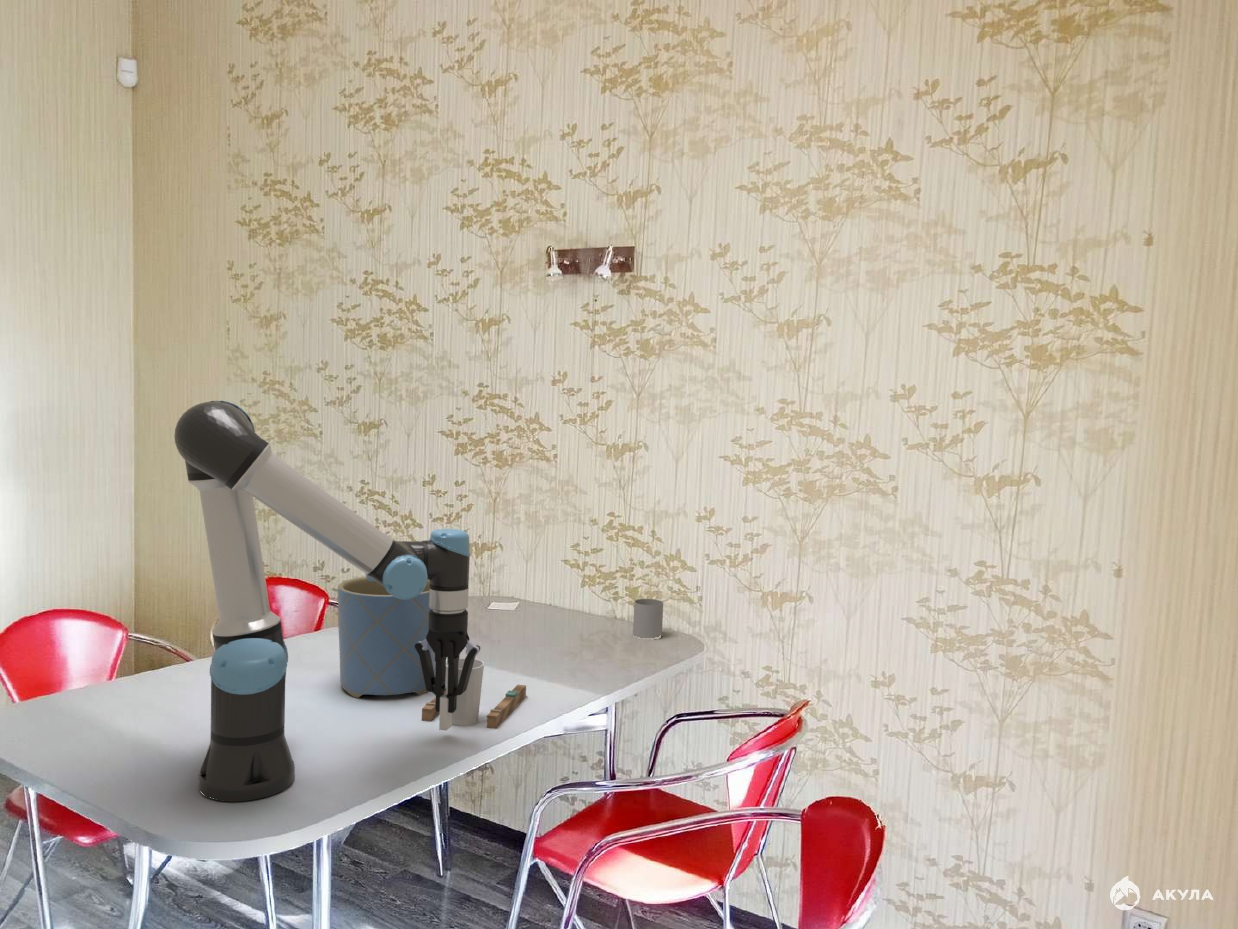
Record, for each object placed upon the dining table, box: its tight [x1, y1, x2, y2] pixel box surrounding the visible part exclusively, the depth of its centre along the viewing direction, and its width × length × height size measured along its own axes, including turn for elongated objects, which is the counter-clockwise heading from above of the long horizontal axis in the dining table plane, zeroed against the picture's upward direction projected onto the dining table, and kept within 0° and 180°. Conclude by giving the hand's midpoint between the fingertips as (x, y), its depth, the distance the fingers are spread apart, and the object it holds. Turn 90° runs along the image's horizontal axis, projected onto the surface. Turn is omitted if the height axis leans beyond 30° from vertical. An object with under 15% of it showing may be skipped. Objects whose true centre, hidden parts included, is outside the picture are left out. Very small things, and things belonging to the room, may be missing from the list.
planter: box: [337, 576, 436, 699], centre depth 209 cm, size 23×23×24 cm
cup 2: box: [632, 598, 664, 638], centre depth 262 cm, size 8×8×10 cm
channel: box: [421, 684, 527, 729], centre depth 197 cm, size 21×16×3 cm
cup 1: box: [445, 657, 485, 727], centre depth 189 cm, size 8×8×12 cm
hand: (445, 727), depth 179 cm, fingers closed
